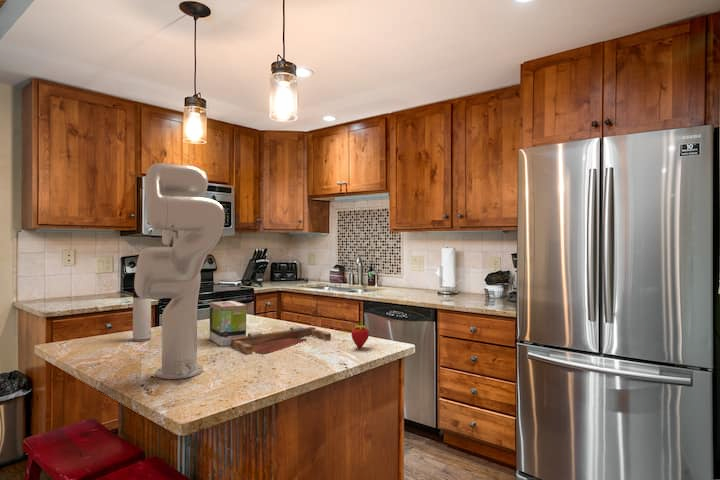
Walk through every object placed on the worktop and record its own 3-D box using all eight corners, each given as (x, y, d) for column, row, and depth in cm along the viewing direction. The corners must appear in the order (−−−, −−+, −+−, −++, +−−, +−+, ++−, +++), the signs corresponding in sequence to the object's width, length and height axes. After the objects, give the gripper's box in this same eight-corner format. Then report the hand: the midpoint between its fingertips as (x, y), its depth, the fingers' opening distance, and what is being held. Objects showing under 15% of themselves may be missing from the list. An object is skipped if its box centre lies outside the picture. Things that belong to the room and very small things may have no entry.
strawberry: (372, 347, 160) (372, 320, 160) (361, 352, 154) (361, 323, 154) (359, 345, 163) (359, 318, 163) (347, 349, 157) (347, 321, 157)
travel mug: (155, 339, 171) (155, 287, 171) (138, 342, 165) (139, 289, 165) (145, 337, 174) (145, 286, 174) (129, 340, 168) (129, 288, 168)
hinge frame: (330, 340, 172) (330, 329, 172) (246, 354, 149) (247, 342, 149) (311, 334, 182) (311, 324, 182) (230, 346, 160) (230, 335, 160)
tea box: (247, 343, 165) (247, 304, 165) (220, 347, 159) (220, 306, 159) (234, 336, 177) (234, 299, 177) (208, 339, 172) (208, 301, 172)
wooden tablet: (263, 356, 149) (263, 351, 149) (243, 352, 154) (243, 347, 154) (312, 341, 172) (312, 337, 172) (293, 338, 177) (293, 334, 177)
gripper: (189, 210, 140) (189, 267, 140) (178, 212, 152) (178, 265, 152) (164, 208, 136) (163, 268, 136) (155, 211, 148) (154, 265, 148)
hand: (171, 266), depth 144 cm, fingers closed
